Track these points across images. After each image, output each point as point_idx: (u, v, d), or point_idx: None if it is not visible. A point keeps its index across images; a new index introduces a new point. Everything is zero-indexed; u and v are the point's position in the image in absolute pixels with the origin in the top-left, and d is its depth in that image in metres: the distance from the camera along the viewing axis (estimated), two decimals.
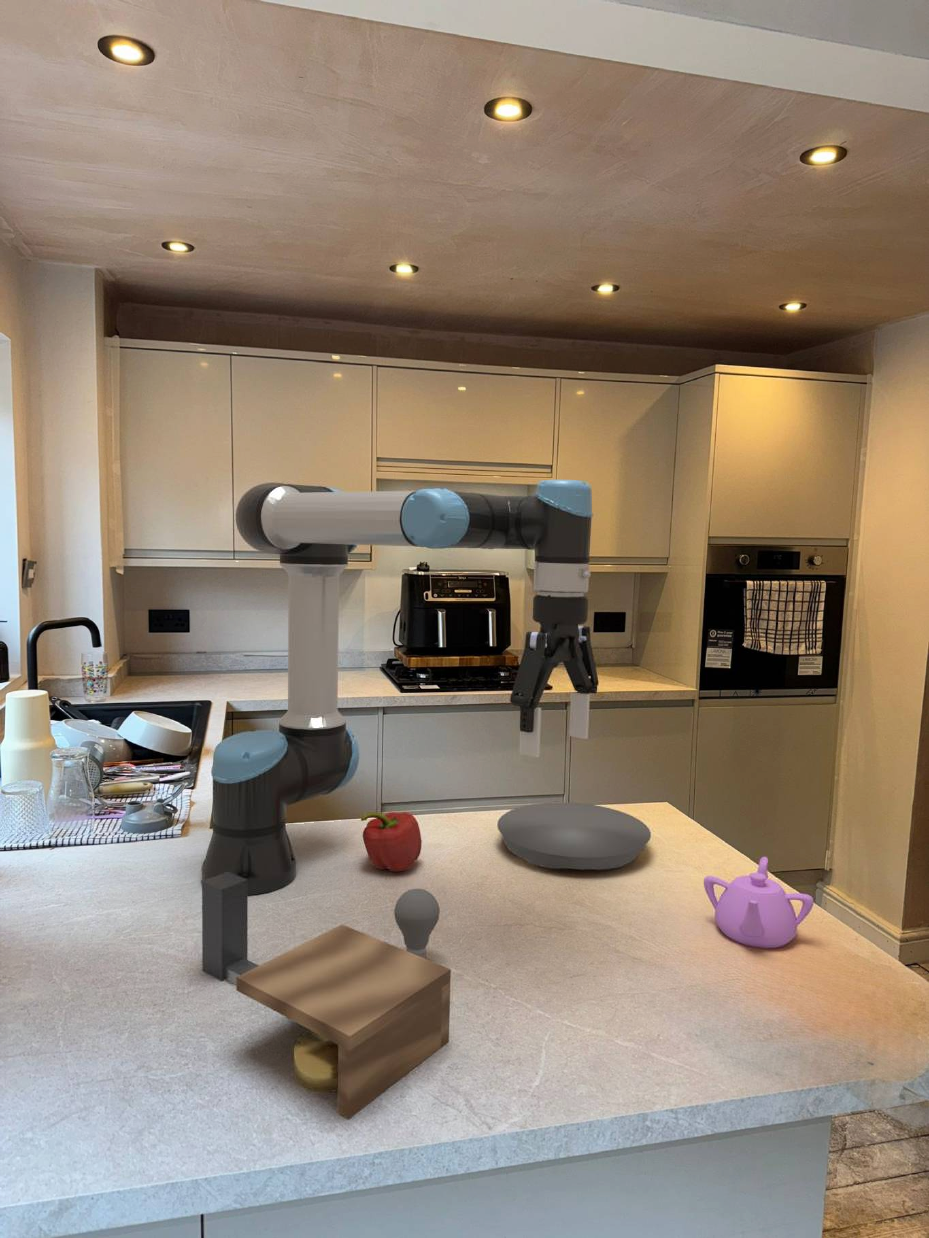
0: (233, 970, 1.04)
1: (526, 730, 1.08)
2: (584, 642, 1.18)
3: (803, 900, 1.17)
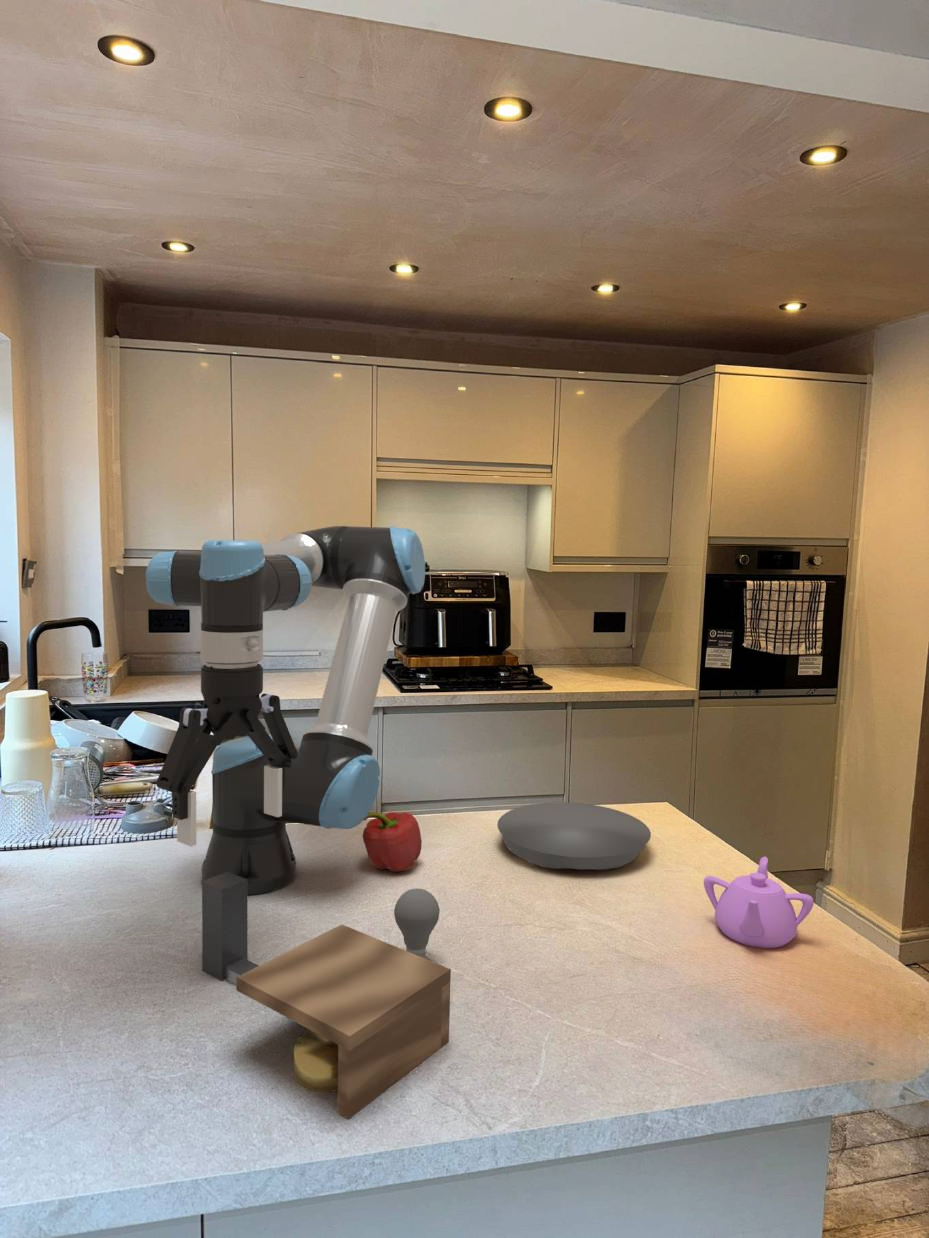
0: (233, 970, 1.04)
1: (178, 817, 0.98)
2: (272, 713, 1.08)
3: (803, 900, 1.17)
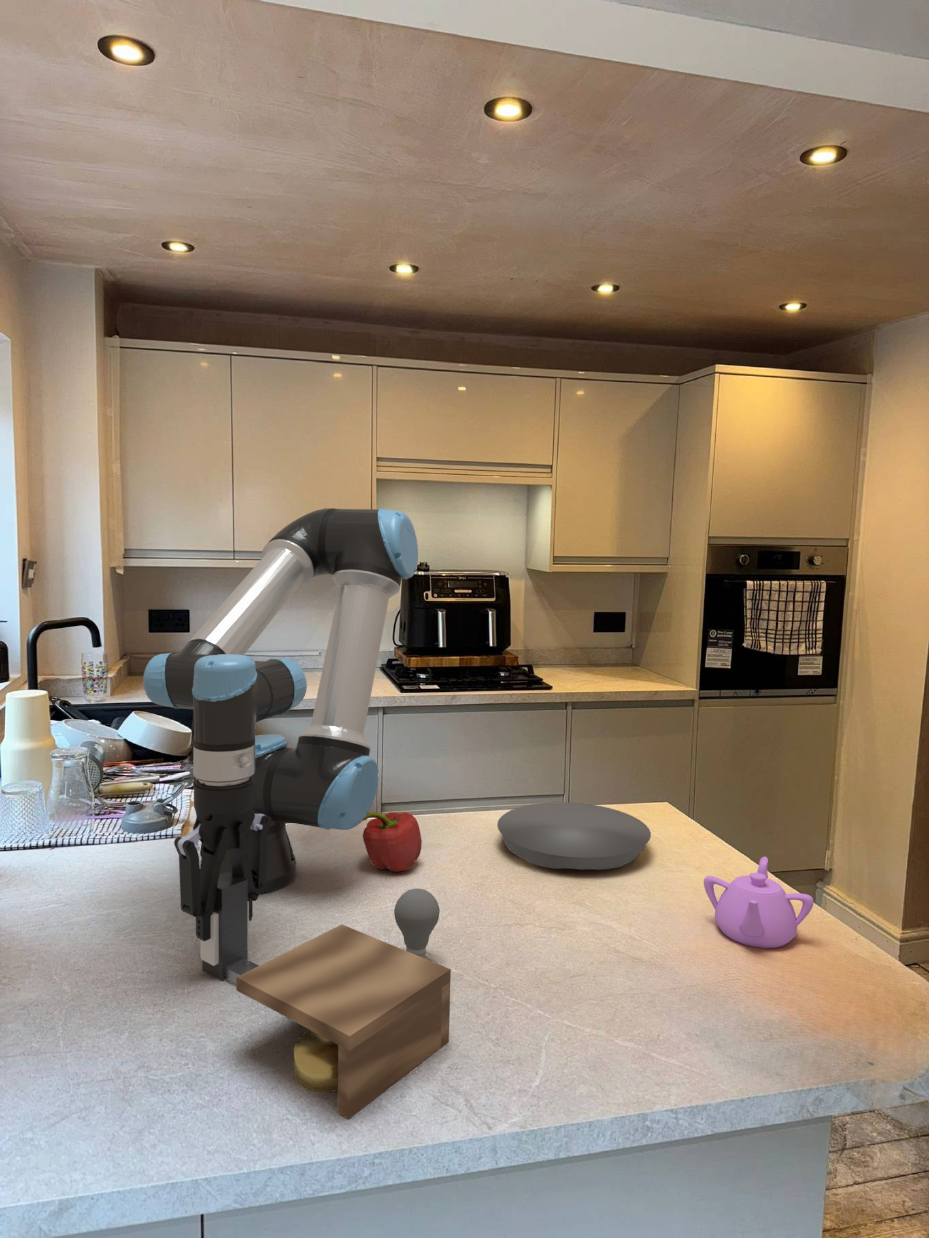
0: (233, 970, 1.04)
1: (201, 938, 1.03)
2: (259, 832, 1.09)
3: (803, 900, 1.17)
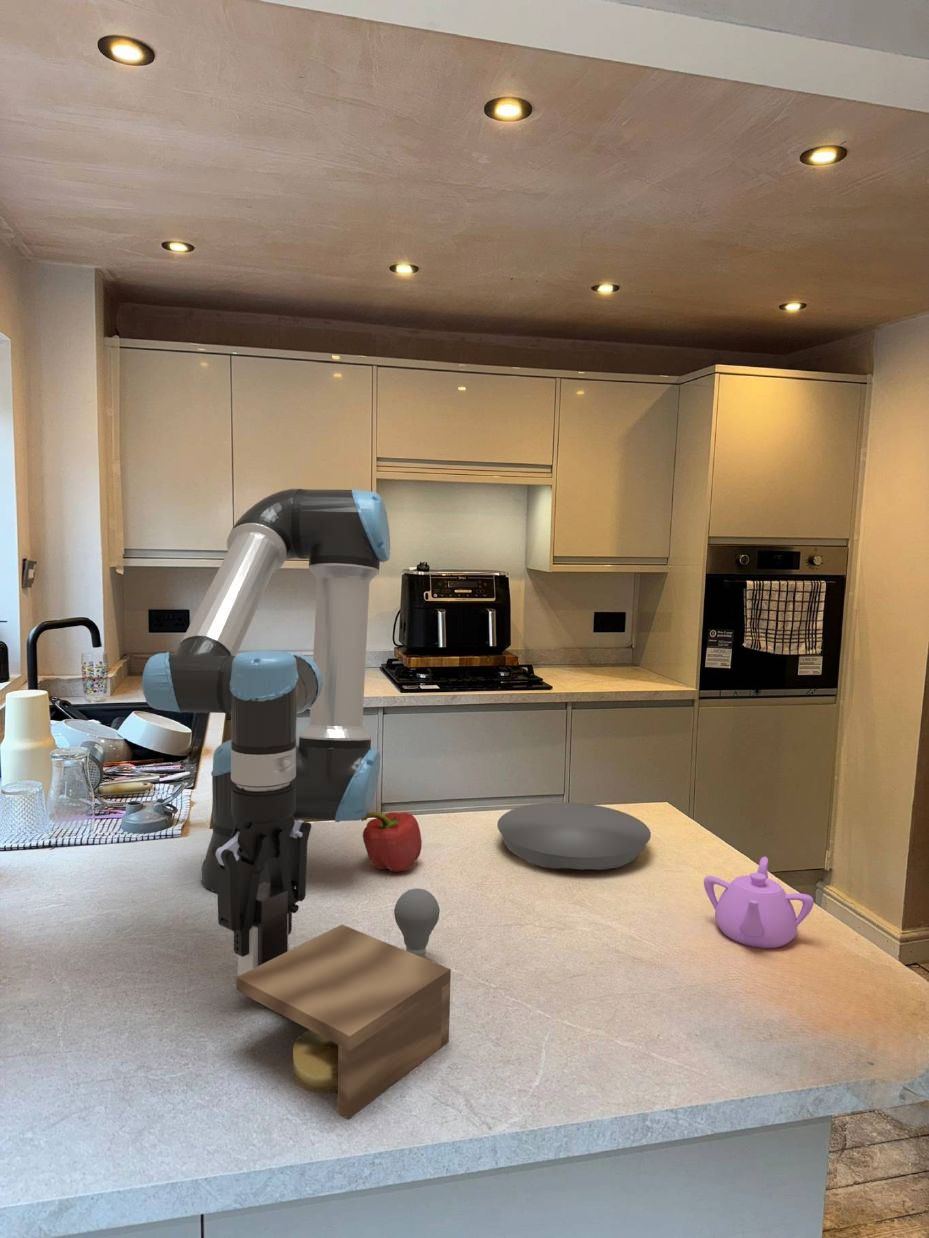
0: None
1: (239, 954, 0.97)
2: (299, 839, 1.02)
3: (803, 900, 1.17)
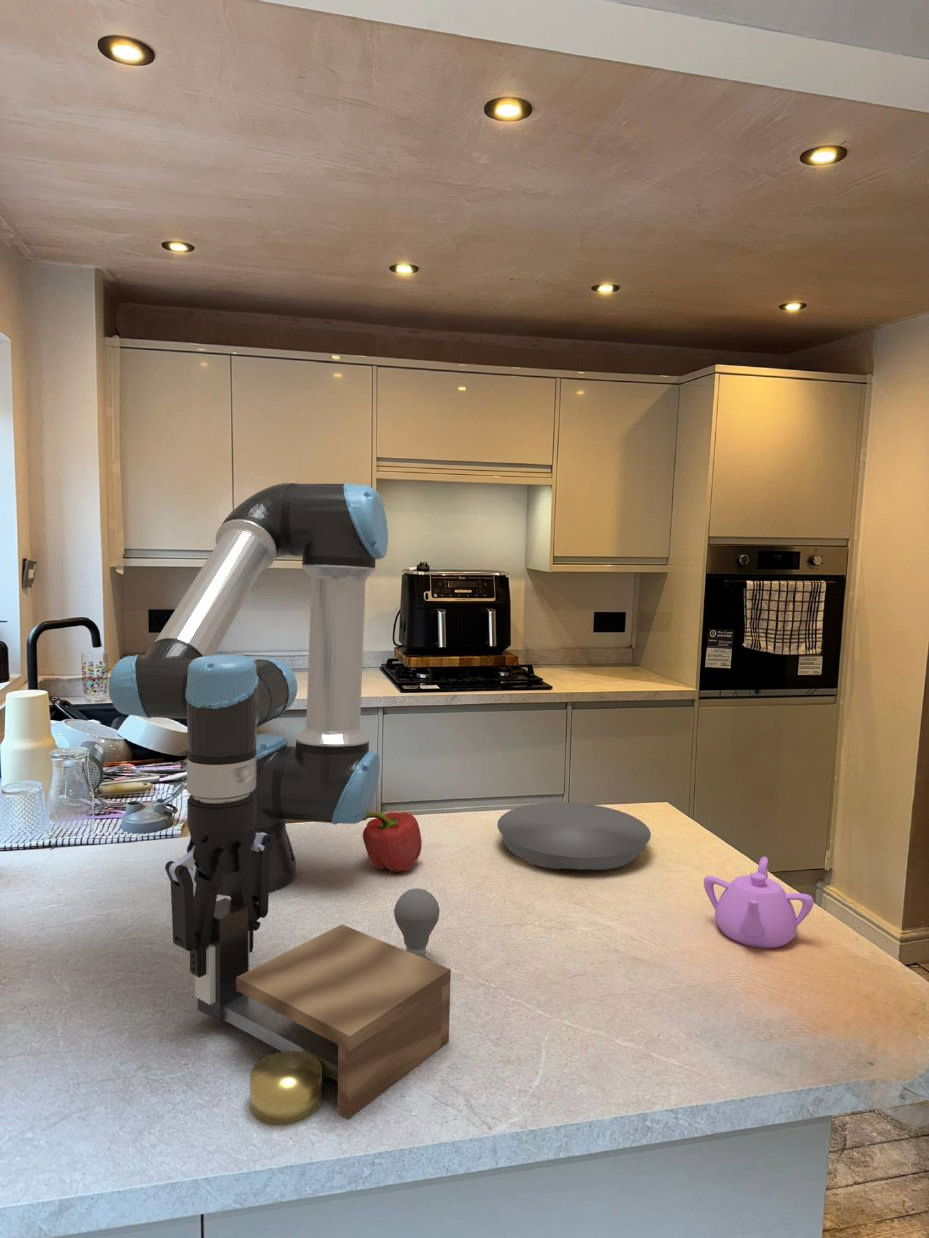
0: (233, 1009, 0.92)
1: (196, 974, 0.92)
2: (260, 853, 0.97)
3: (803, 900, 1.17)
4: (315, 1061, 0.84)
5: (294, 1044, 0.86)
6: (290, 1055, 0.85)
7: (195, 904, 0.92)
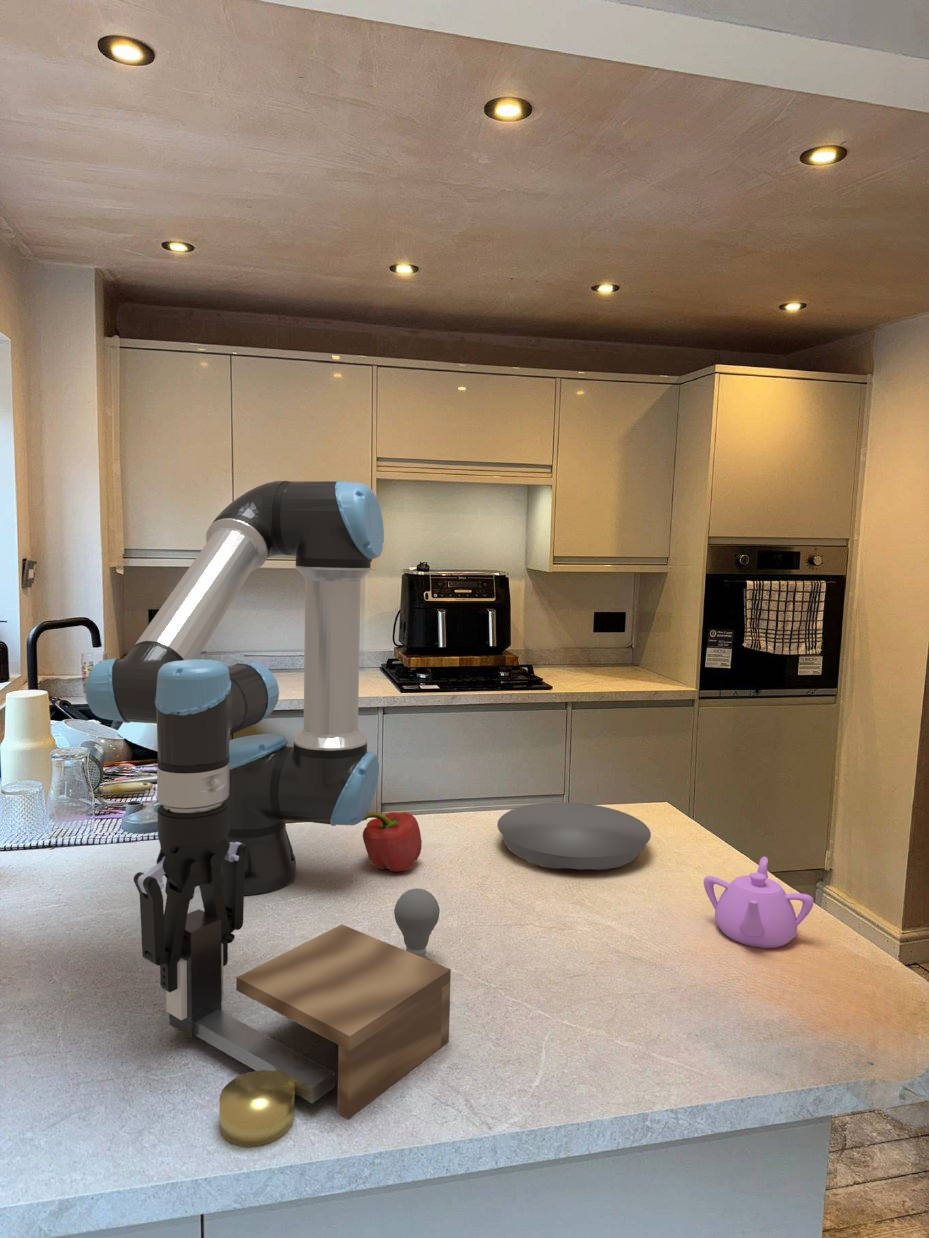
0: (205, 1025, 0.90)
1: (166, 989, 0.89)
2: (235, 863, 0.94)
3: (803, 900, 1.17)
4: (288, 1081, 0.81)
5: (266, 1062, 0.84)
6: (262, 1075, 0.82)
7: (166, 916, 0.89)
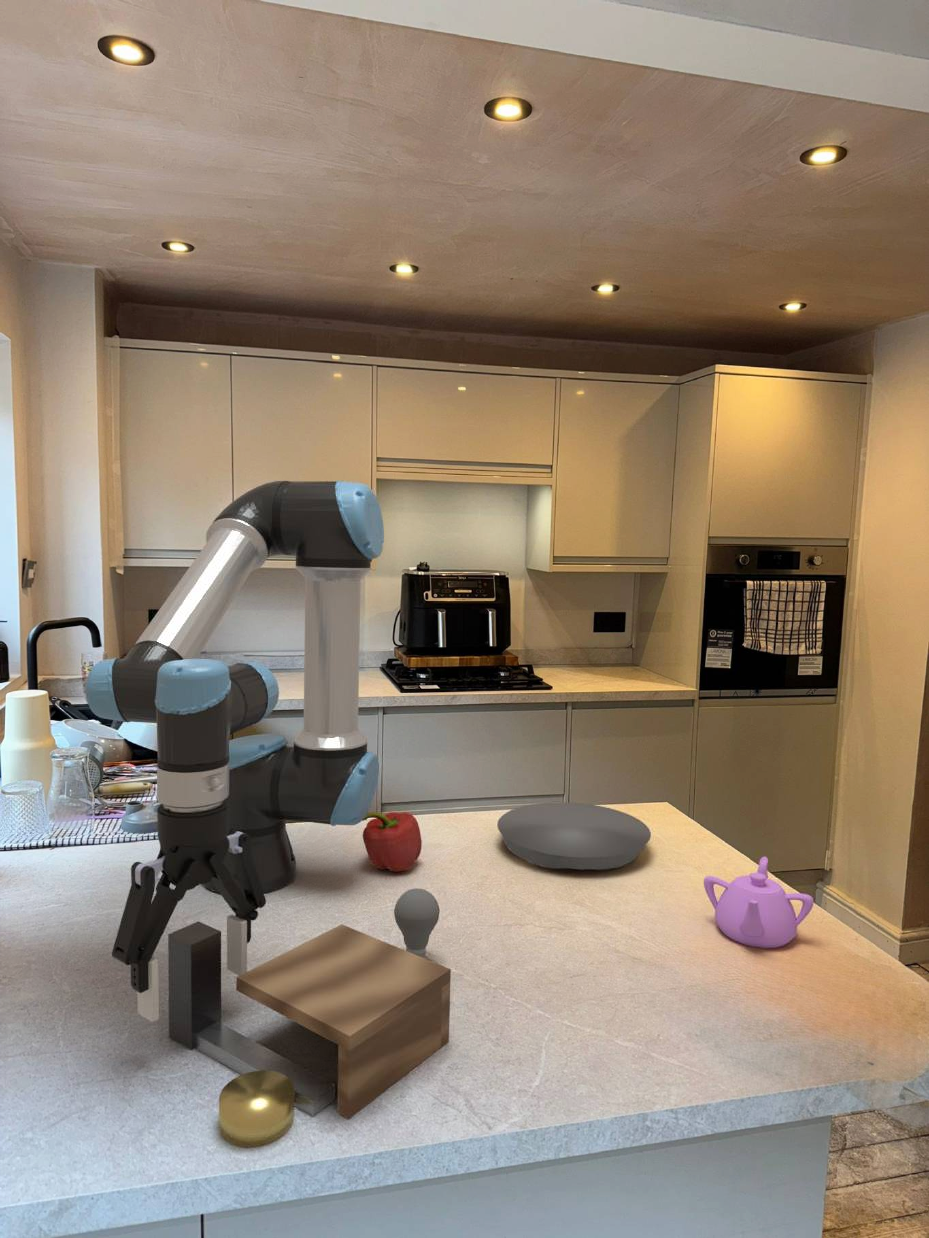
0: (205, 1038, 0.90)
1: (137, 989, 0.86)
2: (240, 854, 0.95)
3: (803, 900, 1.17)
4: (287, 1081, 0.81)
5: None
6: (261, 1075, 0.82)
7: (149, 913, 0.88)
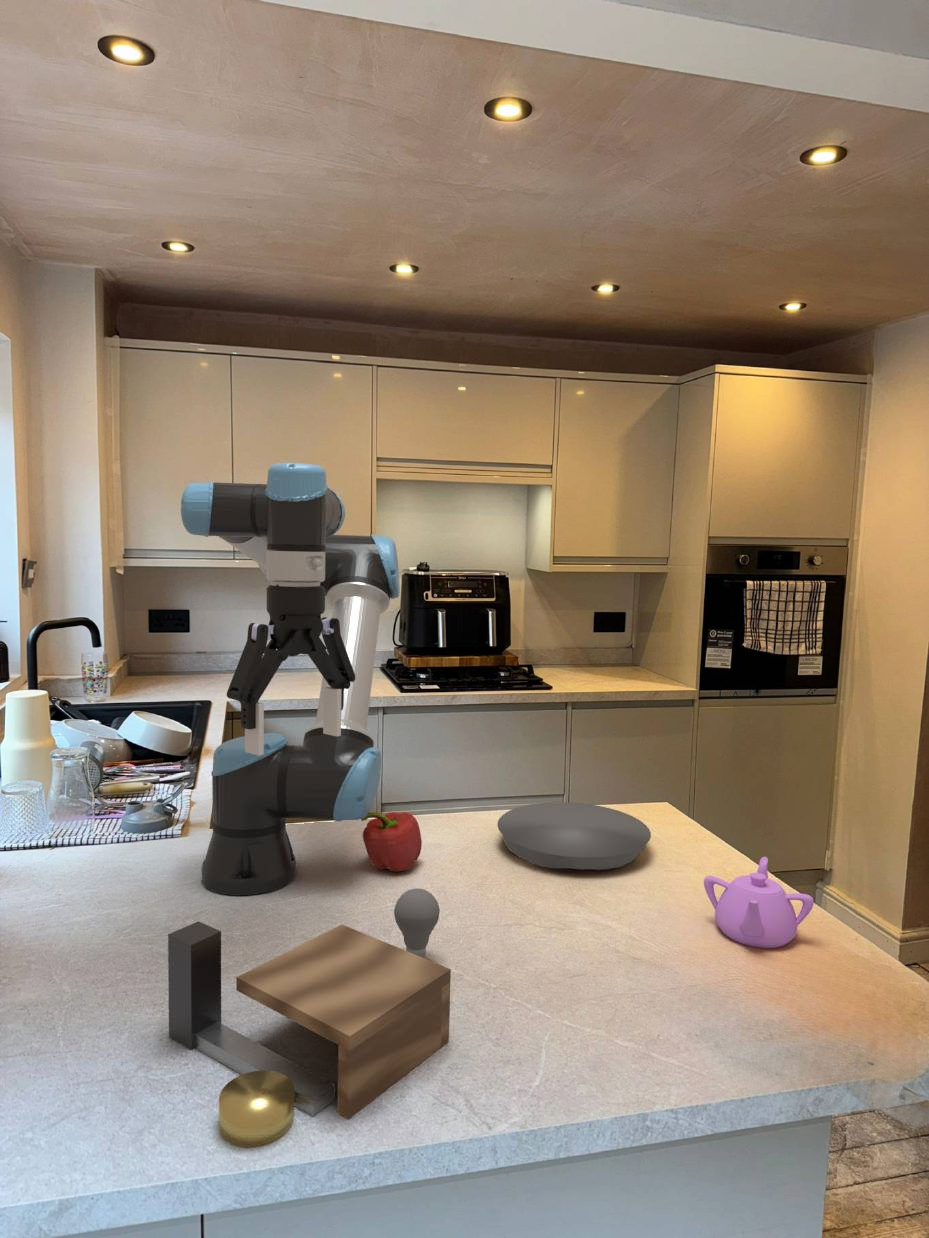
0: (205, 1038, 0.90)
1: (246, 727, 1.03)
2: (332, 635, 1.12)
3: (803, 900, 1.17)
4: (287, 1081, 0.81)
5: None
6: (261, 1075, 0.82)
7: (258, 668, 1.05)
